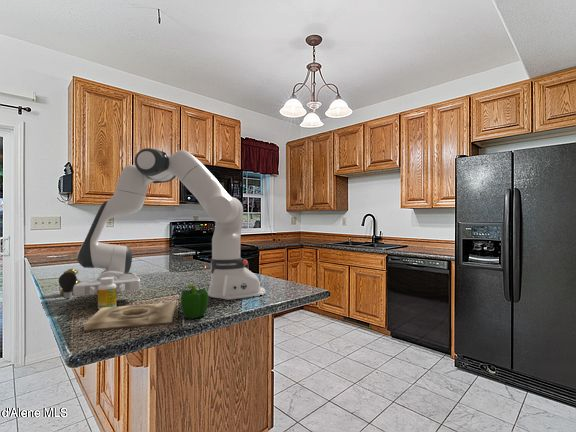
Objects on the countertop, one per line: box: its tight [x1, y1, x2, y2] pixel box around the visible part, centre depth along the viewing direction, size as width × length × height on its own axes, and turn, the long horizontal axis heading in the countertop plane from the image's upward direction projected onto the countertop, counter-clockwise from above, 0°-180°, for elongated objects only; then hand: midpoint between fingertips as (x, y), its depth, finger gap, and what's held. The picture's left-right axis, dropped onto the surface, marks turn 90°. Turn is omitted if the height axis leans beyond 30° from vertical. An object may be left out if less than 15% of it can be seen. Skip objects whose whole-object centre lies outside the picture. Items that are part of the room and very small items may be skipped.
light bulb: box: [58, 272, 78, 300], centre depth 119 cm, size 6×6×10 cm
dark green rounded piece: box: [59, 268, 82, 297], centre depth 127 cm, size 7×7×10 cm
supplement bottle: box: [97, 277, 118, 310], centre depth 104 cm, size 5×5×10 cm
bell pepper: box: [180, 284, 210, 320], centre depth 97 cm, size 8×8×10 cm
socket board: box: [83, 301, 177, 332], centre depth 95 cm, size 22×16×2 cm
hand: (107, 291), depth 104 cm, fingers closed on supplement bottle, 5 cm apart
